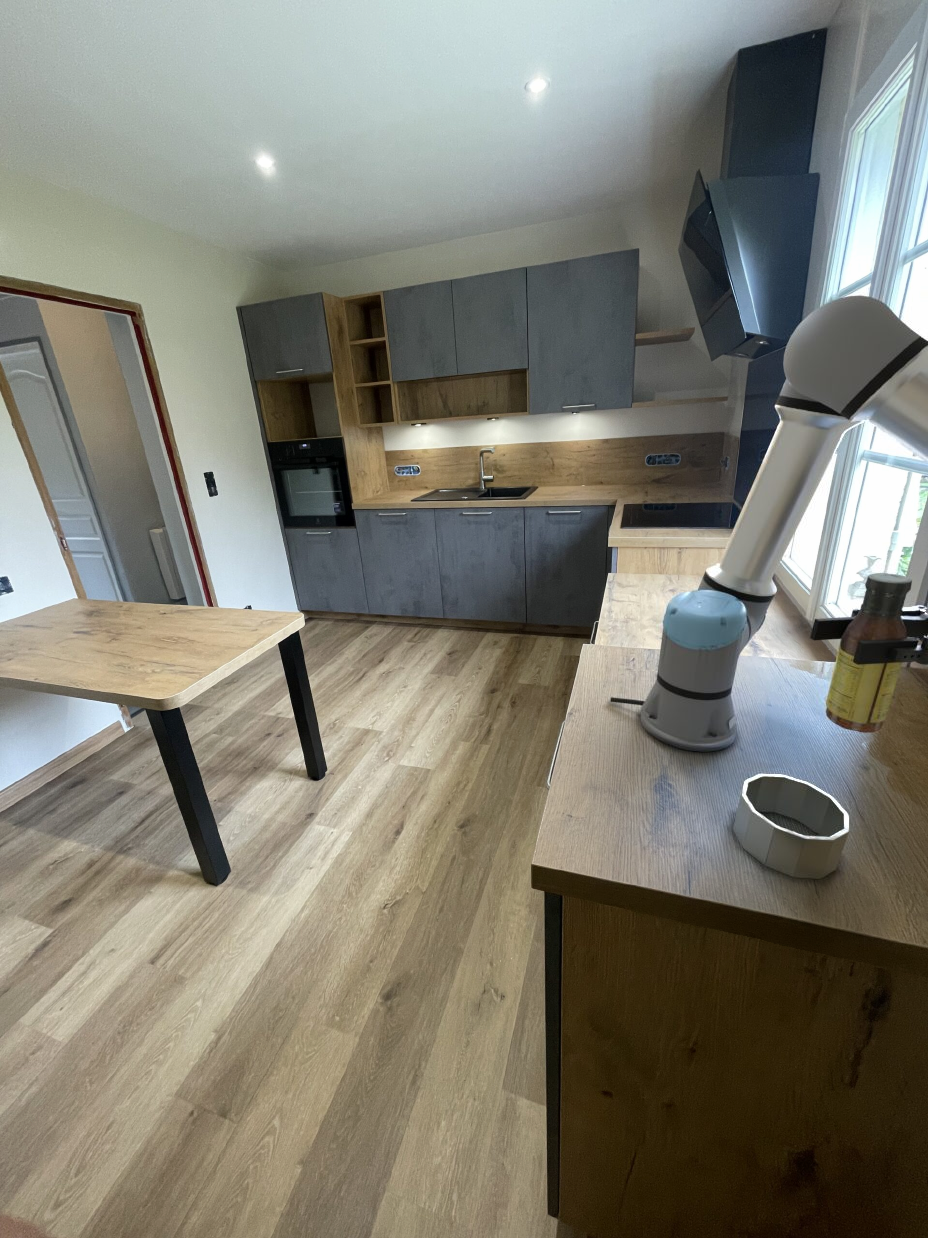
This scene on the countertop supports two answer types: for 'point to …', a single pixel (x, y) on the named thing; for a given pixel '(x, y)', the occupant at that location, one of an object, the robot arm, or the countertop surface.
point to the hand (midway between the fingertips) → (835, 640)
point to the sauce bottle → (868, 687)
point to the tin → (782, 844)
